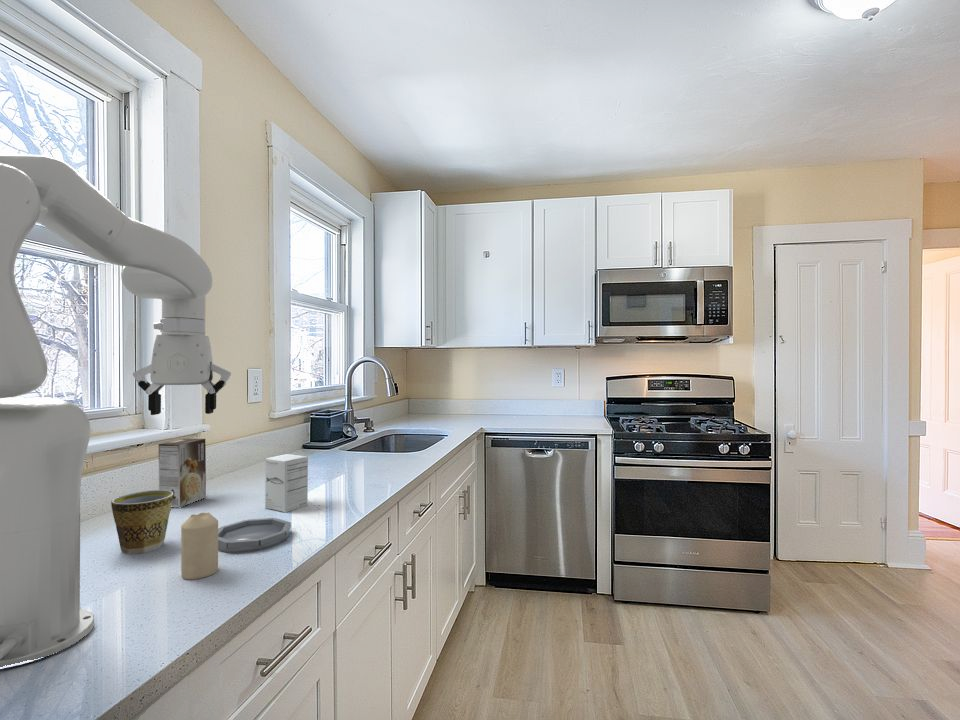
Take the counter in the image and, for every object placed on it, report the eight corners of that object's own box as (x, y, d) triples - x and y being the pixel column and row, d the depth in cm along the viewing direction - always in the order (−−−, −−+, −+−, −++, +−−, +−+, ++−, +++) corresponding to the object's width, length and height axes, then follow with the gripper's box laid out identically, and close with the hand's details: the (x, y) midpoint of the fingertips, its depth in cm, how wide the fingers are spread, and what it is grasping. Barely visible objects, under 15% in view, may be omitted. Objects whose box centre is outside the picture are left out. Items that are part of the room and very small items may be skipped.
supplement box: (264, 509, 119) (264, 458, 119) (288, 501, 126) (288, 453, 126) (284, 513, 116) (284, 460, 116) (308, 505, 122) (308, 455, 122)
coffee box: (185, 497, 130) (185, 437, 130) (206, 498, 129) (206, 438, 129) (157, 507, 120) (157, 443, 121) (180, 508, 119) (180, 444, 120)
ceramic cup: (183, 544, 96) (183, 494, 96) (126, 562, 87) (126, 507, 87) (150, 532, 102) (150, 485, 103) (94, 548, 94) (94, 497, 94)
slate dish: (282, 549, 93) (282, 538, 93) (203, 555, 90) (203, 544, 90) (294, 525, 107) (294, 516, 107) (225, 530, 104) (225, 521, 104)
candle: (201, 581, 80) (201, 520, 80) (173, 578, 81) (173, 518, 81) (225, 567, 85) (225, 510, 85) (198, 564, 86) (198, 509, 86)
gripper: (125, 326, 91) (124, 416, 91) (225, 328, 95) (225, 414, 95) (143, 329, 98) (142, 413, 98) (235, 331, 103) (234, 411, 102)
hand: (182, 413), depth 96 cm, fingers open, 9 cm apart
